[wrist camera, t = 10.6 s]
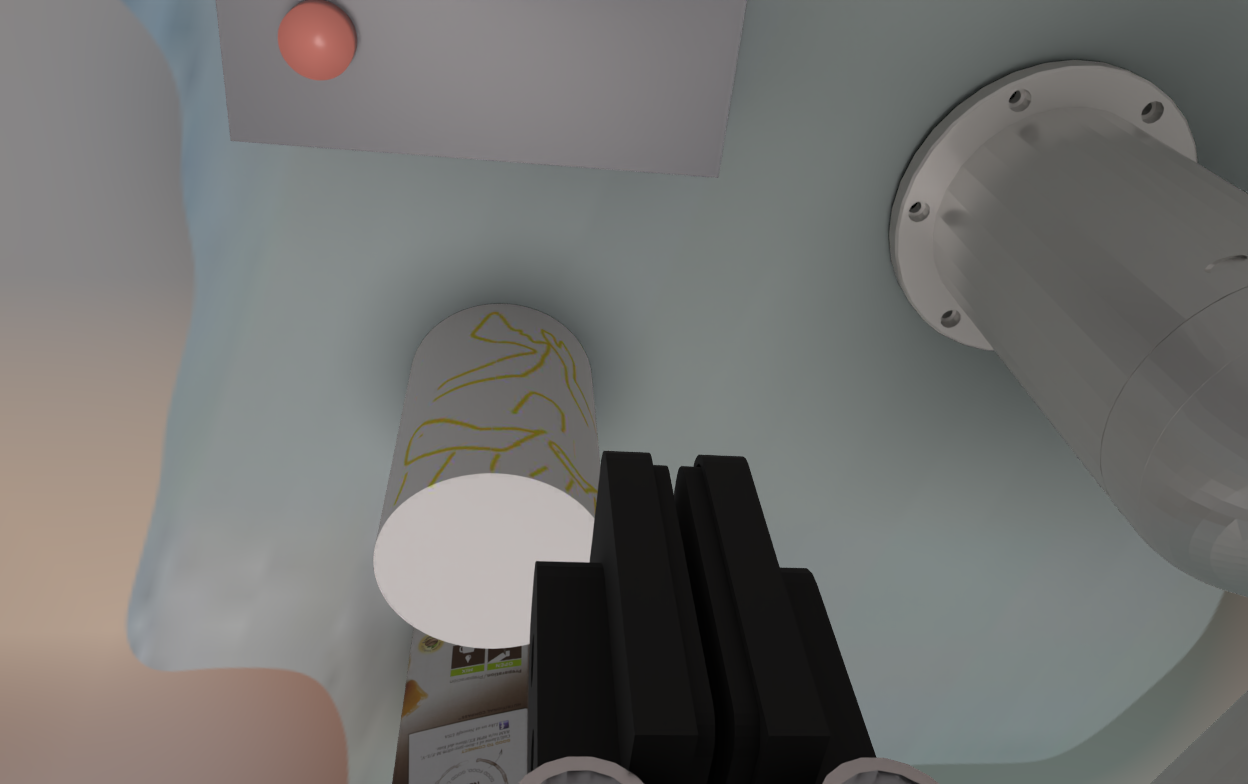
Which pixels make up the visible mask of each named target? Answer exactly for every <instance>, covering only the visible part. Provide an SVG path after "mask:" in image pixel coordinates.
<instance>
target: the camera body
mask: <svg viewBox="0 0 1248 784" xmlns="http://www.w3.org/2000/svg"><path fill="white" fill-rule="evenodd" d="M746 5H747V0H216V8H217V17H218V26H219V36H220V45H221V54H222V64H223V73H224V82H225V91H226V101H227V110H228V119H229V129H230V138H231V141H239V142H252V143H266V144H279V145H292V146H305V147H319V148H332V149H345V150H358V151H372V152H385V153H398V154H411V155H424V156H438V157H451V158H464V159H477V160H491V161H504V162H517V163H530V164H543V165H557V166H570V167H583V168H596V169H610V170H623V171H636V172H649V173H663V174H676V175H689V176H702V177H715V178H718V177H719V171H720V165H721V158H722V152H723V146H724V140H725V134H726V128H727V121H728V115H729V109H730V103H731V97H732V91H733V85H734V78H735V72H736V66H737V60H738V54H739V48H740V41H741V35H742V29H743V23H744V17H745V11H746Z"/></svg>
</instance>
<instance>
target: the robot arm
mask: <svg viewBox="0 0 1248 784" xmlns="http://www.w3.org/2000/svg"><path fill="white" fill-rule="evenodd" d="M1014 92H1016V95H1015V97H1014V98H1013V99H1011V100H1009V99H1010V97H1011V95H1012V94H1013V93H1014ZM1144 107H1145V108H1144ZM916 202H918V203H917V205H916V207H914V208H912V209H910V208H911V206H912V205H914V204H915V203H916ZM889 243H890V254H891V262H892V265H893V268H894V271H895V274H896V278H897V281H898V284H899V285H900V287H901V289H902V290H903V292H904V294H905V295H906V297H907V299H908V300H909V302H910V303H911V305H912V306H913V307H914V308H915V310H916V311H917V312H918V313H919V315H920V316H921V317H922V319H923V320H924V321H925V322H927V323H928V324H929V325H930V326H931V327H932V328H934V329H935V330H936V331H937V332H939V333H940V334H942V335H944V336H946V337H948V338H950V339H952V340H954V341H956V342H959V343H961V344H963V345H967V346H971V347H975V348H979V349H983V350H989V351H995V352H996V353H997V354H998V356H999V357H1000V358H1001V359H1002V361H1003V362H1004V363H1005V365H1006V366H1007V367H1008V368H1009V370H1010V371H1011V372H1012V374H1013V375H1014V376H1015V377H1016V379H1017V380H1018V381H1019V383H1020V384H1021V385H1022V386H1023V388H1024V389H1025V390H1026V392H1027V393H1028V394H1029V395H1030V397H1031V398H1032V399H1033V401H1034V402H1035V403H1036V404H1037V406H1038V407H1039V408H1040V410H1041V411H1042V412H1043V413H1044V415H1045V416H1046V417H1047V419H1048V420H1049V421H1050V422H1051V424H1052V425H1053V426H1054V428H1055V429H1056V430H1057V431H1058V433H1059V434H1060V435H1061V437H1062V438H1063V439H1064V440H1065V442H1066V443H1067V444H1068V446H1069V447H1070V448H1071V449H1072V451H1073V452H1074V453H1075V454H1076V456H1077V457H1078V458H1079V460H1080V461H1081V462H1082V463H1083V465H1084V466H1085V467H1086V469H1087V470H1088V471H1089V472H1090V474H1091V475H1092V476H1093V478H1094V479H1095V480H1096V481H1097V483H1098V484H1099V485H1100V487H1101V488H1102V489H1103V490H1104V492H1105V493H1106V494H1107V496H1108V497H1109V498H1110V499H1111V501H1112V502H1113V503H1114V505H1115V506H1116V507H1117V508H1118V510H1119V511H1120V512H1121V513H1122V514H1123V516H1124V517H1125V518H1126V520H1127V521H1128V522H1129V523H1130V525H1131V526H1132V527H1133V528H1134V530H1135V531H1136V532H1137V533H1138V534H1139V536H1140V537H1141V538H1142V539H1143V540H1144V541H1145V542H1146V543H1147V544H1148V545H1149V546H1150V547H1151V548H1152V549H1153V550H1154V551H1155V552H1156V553H1158V554H1159V555H1160V556H1161V557H1163V558H1164V559H1165V560H1166V561H1168V562H1169V563H1170V564H1172V565H1173V566H1175V567H1176V568H1178V569H1179V570H1181V571H1183V572H1185V573H1186V574H1188V575H1190V576H1192V577H1194V578H1195V579H1197V580H1199V581H1202V582H1204V583H1206V584H1208V585H1211V586H1214V587H1216V588H1219V589H1222V590H1226V591H1229V592H1232V593H1236V594H1239V595H1242V596H1246V597H1248V194H1247V193H1245V192H1244V191H1242V190H1240V189H1239V188H1237V187H1236V186H1234V185H1232V184H1231V183H1229V182H1227V181H1226V180H1224V179H1222V178H1221V177H1219V176H1217V175H1216V174H1214V173H1213V172H1211V171H1209V170H1208V169H1206V168H1204V167H1203V166H1201V165H1199V164H1198V160H1197V152H1196V144H1195V141H1194V138H1193V136H1192V133H1191V130H1190V128H1189V125H1188V122H1187V120H1186V118H1185V117H1184V116H1183V114H1182V113H1181V111H1180V110H1179V108H1178V107H1177V106H1176V104H1175V103H1174V101H1173V100H1172V99H1171V98H1170V97H1169V96H1167V95H1166V94H1165V93H1164V92H1163V91H1161V90H1160V89H1159V88H1158V87H1157V86H1155V85H1154V84H1153V83H1152V82H1150V81H1148V80H1146V79H1144V78H1142V77H1140V76H1138V75H1137V74H1135V73H1133V72H1131V71H1129V70H1125V69H1122V68H1119V67H1116V66H1113V65H1110V64H1107V63H1104V62H1094V61H1083V60H1068V61H1059V62H1050V63H1043V64H1040V65H1036V66H1033V67H1030V68H1026V69H1023V70H1020V71H1016V72H1013V73H1011V74H1009V75H1007V76H1005V77H1003V78H1001V79H999V80H997V81H995V82H993V83H991V84H989V85H987V86H985V87H983V88H982V89H981V90H979V91H978V92H976V93H975V94H973V95H972V96H971V97H969V98H968V99H966V100H965V101H964V102H962V103H961V104H959V105H958V106H957V107H956V108H955V109H954V110H953V111H952V112H951V113H950V114H949V115H947V116H946V117H945V118H944V119H943V120H942V121H941V122H940V123H939V124H938V125H937V126H936V127H935V128H934V129H933V131H932V132H931V133H930V135H929V136H928V137H927V139H926V140H925V141H924V143H923V144H922V145H921V147H920V148H919V149H918V151H917V152H916V153H915V155H914V157H913V159H912V160H911V162H910V164H909V166H908V168H907V170H906V172H905V174H904V176H903V178H902V180H901V182H900V185H899V188H898V191H897V195H896V198H895V201H894V204H893V207H892V213H891V222H890V230H889ZM518 784H939V783H937V782H936V781H935V780H934V779H933V778H932V777H930V776H929V775H927V774H925V773H923V772H921V771H919V770H918V769H915V768H914V767H912V766H910V765H908V764H905V763H901V762H898V761H894V760H890V759H887V758H876V755H875V752H874V749H873V746H872V743H871V740H870V737H869V735H868V732H867V729H866V726H865V723H864V720H863V717H862V714H861V711H860V708H859V705H858V702H857V700H856V697H855V694H854V691H853V688H852V685H851V682H850V679H849V676H848V673H847V670H846V667H845V665H844V662H843V659H842V656H841V653H840V650H839V647H838V644H837V641H836V638H835V635H834V632H833V630H832V627H831V624H830V621H829V618H828V615H827V612H826V609H825V606H824V603H823V600H822V597H821V595H820V592H819V589H818V586H817V583H816V581H815V579H814V577H813V574H812V573H811V572H810V571H809V570H808V569H807V568H780V567H779V564H778V561H777V557H776V554H775V551H774V548H773V544H772V541H771V538H770V534H769V531H768V528H767V524H766V521H765V518H764V515H763V511H762V508H761V505H760V501H759V498H758V495H757V492H756V488H755V485H754V482H753V478H752V475H751V472H750V469H749V465H748V462H747V460H746V458H744V457H740V456H716V455H698V456H697V458H696V460H695V463H694V467H687V466H681V467H680V468H679V470H678V474H677V479H676V485H675V491H674V495H673V489H672V484H671V479H670V473H669V469H668V467H667V466H662V465H653V462H652V458H651V454H650V453H643V452H618V451H604V452H603V455H602V460H601V467H600V475H599V484H598V493H597V502H596V510H595V519H594V528H593V536H592V545H591V554H590V562H554V561H536V562H535V569H534V580H533V593H532V606H531V622H530V643H529V680H528V774H527V775H525V776H524V777H523V779H522V780H521V781H520V782H519V783H518ZM1151 784H1248V691H1247V692H1246V693H1245V694H1244V695H1242V696H1241V697H1240V698H1239V699H1238V700H1237V701H1236V702H1235V703H1234V704H1233V705H1232V706H1231V707H1230V708H1229V709H1228V710H1227V711H1226V712H1225V713H1224V714H1222V715H1221V716H1220V717H1219V718H1218V719H1217V720H1216V721H1215V722H1214V723H1213V724H1212V725H1211V726H1210V727H1209V728H1208V729H1207V730H1206V731H1205V732H1204V733H1203V734H1201V736H1199V737H1198V738H1197V739H1196V740H1195V741H1194V742H1193V743H1192V744H1191V745H1190V746H1189V747H1188V748H1187V749H1186V750H1185V751H1184V752H1183V753H1182V754H1180V755H1179V757H1177V758H1176V759H1175V760H1174V761H1173V762H1172V763H1171V764H1170V765H1169V766H1168V767H1167V768H1166V769H1165V770H1164V771H1163V772H1162V773H1161V774H1160V775H1159V776H1158V777H1157V778H1156V779H1155V780H1154V781H1153V782H1152V783H1151Z"/></svg>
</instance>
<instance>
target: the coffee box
mask: <svg viewBox="0 0 1248 784" xmlns="http://www.w3.org/2000/svg"><path fill="white" fill-rule="evenodd" d="M528 680H529V644H527V645H523V646H517V647H510V648H498V649H485V648H473V647H466V646H460V645H456V644H452V643H448V642H445V641H442V640H439V639H436V638H434V637H432V636H429V635H427V634H425V633H423V632H421V631H420V630H418V629H416V628H415V627H414V630H413V637H412V643H411V649H410V657H409V665H408V672H407V680H406V689H405V695H404V702H403V709H402V715H401V723H400V730H399V737H398V744H397V752H396V760H395V767H394V774H393V781H392V784H518V783H519V782H520V781H521V780H522V779H523V777H524V776H525V775H527V774H528Z"/></svg>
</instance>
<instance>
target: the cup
mask: <svg viewBox="0 0 1248 784" xmlns="http://www.w3.org/2000/svg"><path fill="white" fill-rule="evenodd" d="M599 475H600V457H599V446H598V436H597V425H596V414H595V403H594V393H593V382H592V372H591V367H590V363H589V360H588V357H587V355H586V353H585V351H584V349H583V347H582V346H581V344H580V342H579V341H578V340H577V338H576V337H575V336H574V335H573V334H572V333H571V332H570V331H569V330H568V329H567V328H566V327H565V326H564V325H562V324H561V323H560V322H558V321H557V320H555V319H554V318H552V317H550V316H548V315H546V314H544V313H542V312H540V311H537V310H534V309H531V308H528V307H524V306H519V305H513V304H486V305H480V306H475V307H471V308H468V309H465V310H462V311H460V312H457V313H455V314H453V315H451V316H449V317H448V318H446V319H444V320H443V321H442V322H440V323H439V324H438V325H437V326H435V327H434V328H433V329H432V330H431V331H430V332H429V333H428V334H427V336H426V337H425V338H424V339H423V341H422V342H421V344H420V346H419V347H418V349H417V351H416V353H415V356H414V359H413V362H412V366H411V371H410V376H409V381H408V386H407V391H406V396H405V401H404V406H403V411H402V416H401V421H400V426H399V431H398V436H397V441H396V446H395V451H394V455H393V460H392V465H391V470H390V475H389V480H388V485H387V490H386V495H385V500H384V505H383V510H382V515H381V520H380V525H379V530H378V535H377V540H376V545H375V550H374V572H375V577H376V580H377V583H378V586H379V588H380V590H381V592H382V594H383V596H384V598H385V599H386V601H387V602H388V604H389V605H390V606H391V607H392V608H393V610H394V611H395V612H396V613H397V614H398V615H399V616H400V617H401V618H403V619H404V620H405V621H406V622H408V623H409V624H410V625H412V626H413V627H415V628H416V629H418V630H420V631H421V632H423V633H425V634H427V635H429V636H432V637H434V638H436V639H439V640H442V641H445V642H448V643H452V644H456V645H460V646H466V647H473V648H485V649H498V648H510V647H517V646H523V645H527V644H529V643H530V622H531V606H532V593H533V580H534V569H535V562H536V561H554V562H590V554H591V545H592V536H593V528H594V519H595V510H596V502H597V493H598V484H599Z"/></svg>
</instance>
